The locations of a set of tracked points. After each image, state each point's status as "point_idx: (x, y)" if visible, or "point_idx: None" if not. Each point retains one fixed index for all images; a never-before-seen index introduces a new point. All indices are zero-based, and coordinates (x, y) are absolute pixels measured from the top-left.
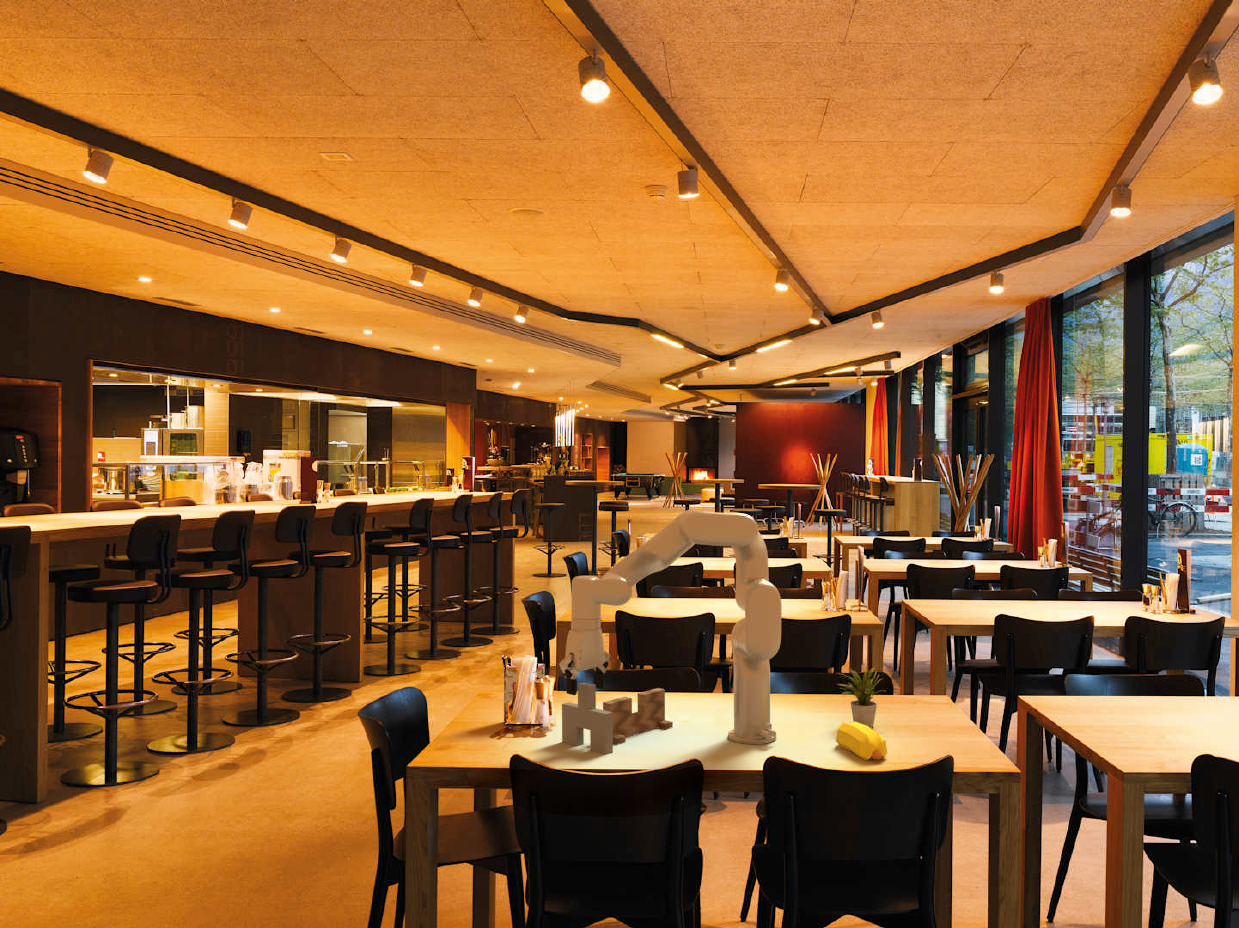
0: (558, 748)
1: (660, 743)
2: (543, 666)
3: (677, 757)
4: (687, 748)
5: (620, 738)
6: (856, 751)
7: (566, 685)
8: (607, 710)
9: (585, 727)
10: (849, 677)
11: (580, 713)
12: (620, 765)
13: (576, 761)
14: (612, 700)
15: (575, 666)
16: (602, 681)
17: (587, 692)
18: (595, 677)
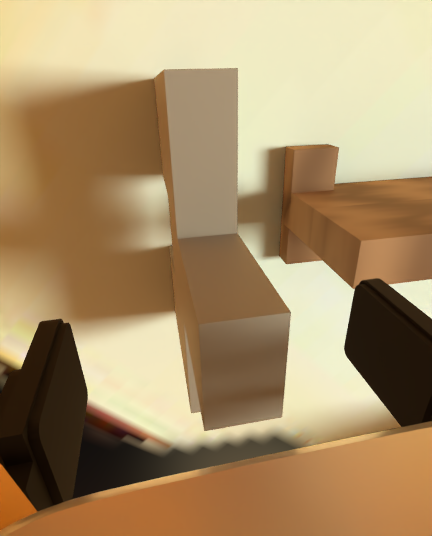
0: (84, 145)
1: None
2: None
3: (285, 420)
4: (359, 387)
5: (298, 261)
6: None
7: (23, 365)
8: (337, 256)
9: (173, 254)
10: None
11: (176, 246)
12: (136, 400)
13: (50, 310)
14: (419, 244)
15: (225, 483)
16: (379, 394)
17: (196, 383)
18: (404, 351)
